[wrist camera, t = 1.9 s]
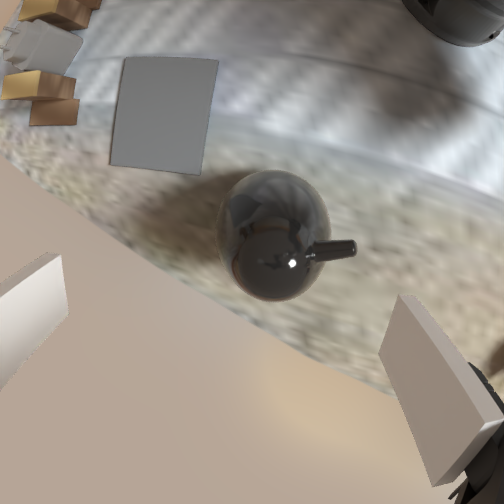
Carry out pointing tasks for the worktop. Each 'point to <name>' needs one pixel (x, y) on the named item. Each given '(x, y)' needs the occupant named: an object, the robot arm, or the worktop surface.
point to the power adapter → (41, 47)
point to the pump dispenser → (276, 235)
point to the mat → (163, 113)
